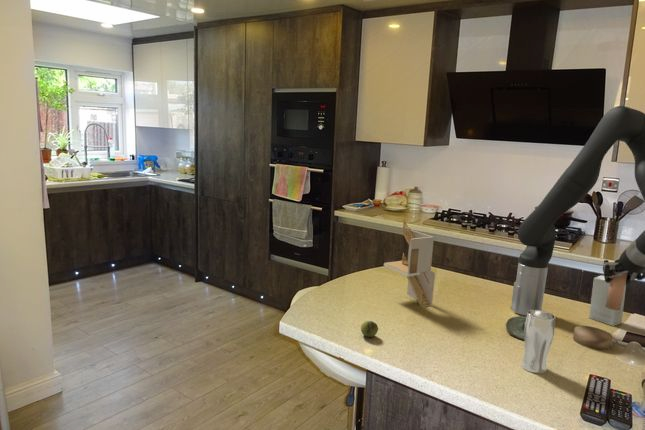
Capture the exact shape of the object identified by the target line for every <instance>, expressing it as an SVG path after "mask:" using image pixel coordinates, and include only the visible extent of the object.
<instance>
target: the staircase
mask: <svg viewBox="0 0 645 430" xmlns="http://www.w3.org/2000/svg"><path fill="white" fill-rule="evenodd" d="M402 223H403V224H402V233H401V235H402V236H404V238H405V241H406V242H407V245H408V254H407V257H406V255H405V253H404V252H403V253H402V257H401V258H402V260H398V261H389V262H384V263H383V266H384V267H386V268H388V269H390V270H393V271H395V272H397V273H399V274H401V275H403V276H405V277H407V291H406V295H408V296H409V297H412V298H414V299H416V300H417V302H418V304H419V307H420V308H426V307H432V306H433V300H434V287H435V279H436V272H434V271H432V270H431V269H432V260H433V252H434V251H433V250H434V242H435V241H434V238H435V237H434V236H431V235H428V234H425V233H424V232H422V233H421V232H419V231H416V230H413V229H411V227H409V226H408V224H407V222H406V219H403V222H402Z"/></svg>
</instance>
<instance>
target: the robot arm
mask: <svg viewBox="0 0 645 430" xmlns="http://www.w3.org/2000/svg"><path fill="white" fill-rule="evenodd" d="M617 141H619V142H624V143H625V144H626V146H627V147H628V148H629V150H630V152H631V153H632V156H633V159H634V180H635V182H636V184H637V187H638V190H639V191H640V194H641V195H642V199H643V200H644V202H645V112H642V111H640V110H639V109H638V110H637V109H634V108H631V107H629V106H626V105H625V106H624V105H618V106H613V108H610V109H609V110H608V111H607V112H606V113H605V114H604V115H603V116H602V118H601V119H600V121H599V122H598V124H597V125H596V127H595V129H594V130H593V131H592V134H591V135H590V137H589V139H588V140H587V141H586V142H585V144H584V146H583V147H582V148H581V150H580V151H579V152H578V154H577V155H576V157H575V158H574V159H573V161H572V162H571V163H570V164H569V166H568V167H567V168H566V169H565V171H564V172H563V173H562V174H561V175H560V177H559V178H558V179H557V181H556V182H555V184H553V186H552V188H551V189H550V190H549V191H548V193H547V194H546V195H545V197H544V198H543V199H542V200H541V202H540V203H539V204H538V206H537V207H536V208H535V209H534V210H533V211H532V212H531V213H530V214H529V215H528V216H527V217H526V218H525V219H524V220H523V221H522V222H521V223H520V226H519V227H518V231H517V236H518V237H517V238H518V240H519V242H520V243H521V244H522V245H523V246H526V247H525V249H524V250H523V251H522V252H521V253H520V255H519V258H518V265H517V271H516V272H517V273H516V280H515V281H514V282H513V290H512V296H511V302H510V303H511V305H510V308H511V309H512V311H513V312H514V314H519V315H521V316H524V317H527V313H528V311H529V310H542V311H543V304H544V303H543V301H544V295H545V289H546V282H547V275H548V269H549V268H548V267H549V262H550V261H551V259H552V257H553V252H554V248H555V242H556V237H557V232H556V231H557V230H556V227H555V222H556V221H557V220H558V219H559V218H560V217H561V216H563V215H564V214H565V213H566V212H567V211H569V210H571V209H572V208H574V207H575V206H576V205H578V204H579V203H580V202H581V201H582V200H583V199H584V198H585V197H586V196H587V195H588V193H589V192H590V191H591V190H592V189H593V188H594V187H595V185H596V183H598V180H599V177H600V173H601V167H602V163H603V160H604V158H605V156H606V155H607V153H608V152H609V150H610V149H611V148H612V147H613V146H614V144H615V143H616V142H617ZM602 265H603V266H602V270H603V276H604V278H605V281H606V283H610V282H611V281H612V279H613V278H614V277H616V276H620V275H622V274H628V276H627V280H626V284H625V285H626V286H627V284H630V283H631V282H632V281H635V280H637V281H642V280H645V230H643V231H642V232H641V233H640V235H638V237H636V238H635V239H634V240H633V241H632V242H631V243H630V244H629V245H628V246H627V247H626V248H625V249H624V251H623V252H622V253H621V254H620V256H619V258H618V259H616V260H614V261H611V262H609V260H608V259H605V260H603V264H602ZM613 271H614V273H613Z"/></svg>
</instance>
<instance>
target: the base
mask: <svg viewBox="0 0 645 430" xmlns="http://www.w3.org/2000/svg"><path fill="white" fill-rule="evenodd" d="M613 337H614V336H613V335H612V334H611V333H609V332H608V331H606V330H604V329H601V328H599V327H593V326H589V325H577V326H575V327H574V330H573V335H572V339H573V341H574V342H576V343H577V344H579V345H580V346H582V347H586V348H589V349H592V350H599V351H605V350H606V351H607V350H610V349H611V348H612V345H613Z"/></svg>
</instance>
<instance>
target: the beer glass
mask: <svg viewBox="0 0 645 430" xmlns="http://www.w3.org/2000/svg"><path fill="white" fill-rule="evenodd" d="M525 317H526V322H525V328H524V340H523V341H524V354H523V358H522V361H521V363H520V364H521V365H520V366H521V368H523V369H524V370H525V371H527V372H530V373H532V374H545V373H547V357H548V354H549V352H550V348H551V346H552V343H553V340H554V335H555V328H556V316H555V315H554V313H551V312H549V311H546V310H543V309H542V310H529V311H528V313H527V316H525Z"/></svg>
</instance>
